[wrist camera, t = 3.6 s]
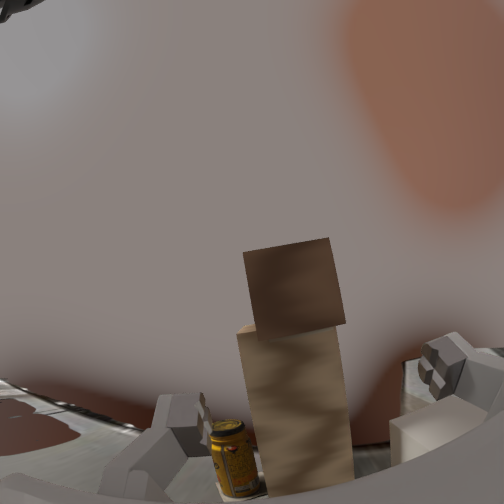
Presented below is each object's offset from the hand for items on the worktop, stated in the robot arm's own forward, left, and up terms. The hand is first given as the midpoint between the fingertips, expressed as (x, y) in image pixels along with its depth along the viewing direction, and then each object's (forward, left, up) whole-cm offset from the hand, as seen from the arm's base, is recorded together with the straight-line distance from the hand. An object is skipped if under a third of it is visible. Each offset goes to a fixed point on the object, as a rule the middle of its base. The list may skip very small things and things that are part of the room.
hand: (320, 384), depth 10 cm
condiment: (-8, +31, -25) cm, 40 cm away
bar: (0, +13, +2) cm, 13 cm away
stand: (0, +18, -24) cm, 30 cm away
